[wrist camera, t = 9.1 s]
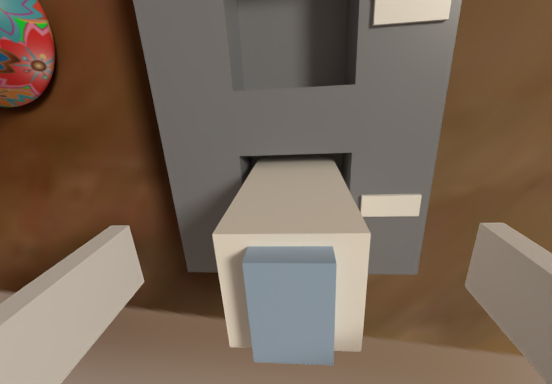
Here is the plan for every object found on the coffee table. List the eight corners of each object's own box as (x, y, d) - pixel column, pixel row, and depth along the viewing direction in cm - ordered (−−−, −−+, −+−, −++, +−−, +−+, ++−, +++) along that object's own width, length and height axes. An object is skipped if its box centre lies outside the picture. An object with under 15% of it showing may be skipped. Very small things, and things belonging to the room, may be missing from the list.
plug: (265, 218, 18) (223, 369, 8) (260, 155, 17) (202, 249, 7) (329, 217, 18) (367, 376, 8) (330, 153, 16) (379, 249, 6)
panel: (208, 239, 21) (186, 274, 17) (161, -50, 14) (109, -104, 10) (394, 239, 19) (418, 276, 15) (432, -81, 13) (490, -156, 9)
